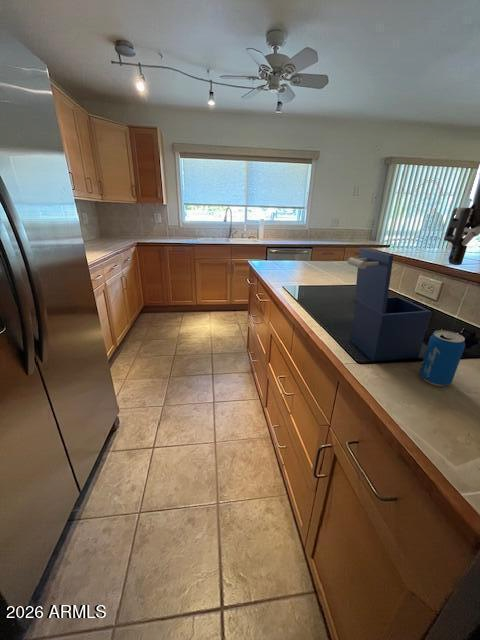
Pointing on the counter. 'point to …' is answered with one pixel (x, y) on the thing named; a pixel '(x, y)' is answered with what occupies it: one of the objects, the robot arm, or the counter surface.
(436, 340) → the beverage can
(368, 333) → the box
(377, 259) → the lid
